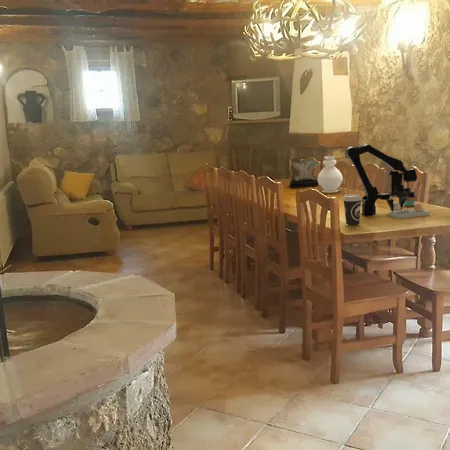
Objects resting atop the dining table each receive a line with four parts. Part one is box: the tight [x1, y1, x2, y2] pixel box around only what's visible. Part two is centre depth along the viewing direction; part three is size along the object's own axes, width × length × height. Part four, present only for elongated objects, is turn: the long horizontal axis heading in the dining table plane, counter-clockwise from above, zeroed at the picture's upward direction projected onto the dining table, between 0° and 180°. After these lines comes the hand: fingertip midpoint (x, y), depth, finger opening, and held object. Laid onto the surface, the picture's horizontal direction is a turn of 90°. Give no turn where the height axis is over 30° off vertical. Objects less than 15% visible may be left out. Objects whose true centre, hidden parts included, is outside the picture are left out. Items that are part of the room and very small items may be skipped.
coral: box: [289, 159, 322, 189], centre depth 417 cm, size 25×20×22 cm
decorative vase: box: [317, 155, 344, 194], centre depth 383 cm, size 18×18×25 cm
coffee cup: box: [342, 193, 363, 226], centre depth 270 cm, size 10×10×15 cm
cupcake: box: [404, 186, 418, 207], centre depth 312 cm, size 9×8×12 cm
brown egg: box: [413, 202, 424, 212], centre depth 282 cm, size 5×5×6 cm
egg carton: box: [389, 208, 430, 219], centre depth 282 cm, size 18×8×3 cm, turn 101°
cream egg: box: [391, 201, 402, 212], centre depth 293 cm, size 5×5×6 cm
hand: (396, 210), depth 293 cm, fingers closed on cream egg, 5 cm apart
